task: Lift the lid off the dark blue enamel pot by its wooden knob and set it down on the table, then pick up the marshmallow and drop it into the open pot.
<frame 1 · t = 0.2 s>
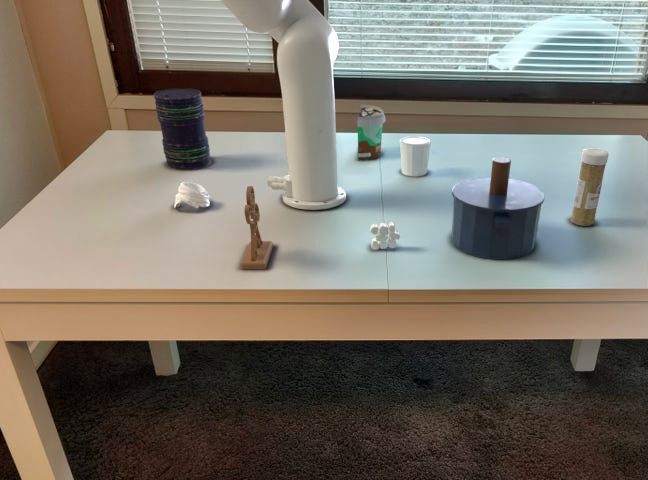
sprinkles bottle: (581, 223, 123), on the table
white cup: (414, 173, 144), on the table
whipped cream: (193, 206, 125), on the table
pot: (492, 241, 114), on the table
marshmallow: (384, 249, 111), on the table
storage jar: (189, 163, 146), on the table
pot lid: (497, 195, 110), point 8 cm above the table, touching pot
food container: (372, 155, 154), on the table
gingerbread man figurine: (257, 258, 107), on the table
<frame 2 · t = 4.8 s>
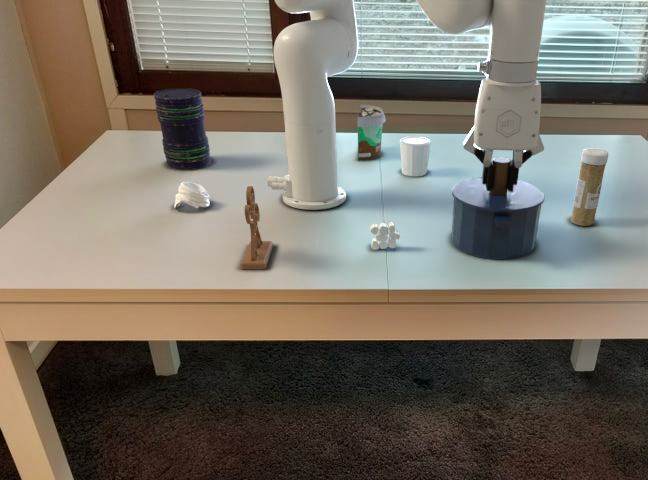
hand: (498, 187, 109), 10 cm above the table, tool pointing down, fingers closed on pot lid, 3 cm apart
pot lid: (497, 195, 110), point 9 cm above the table, touching gripper, pot
everything else where it was.
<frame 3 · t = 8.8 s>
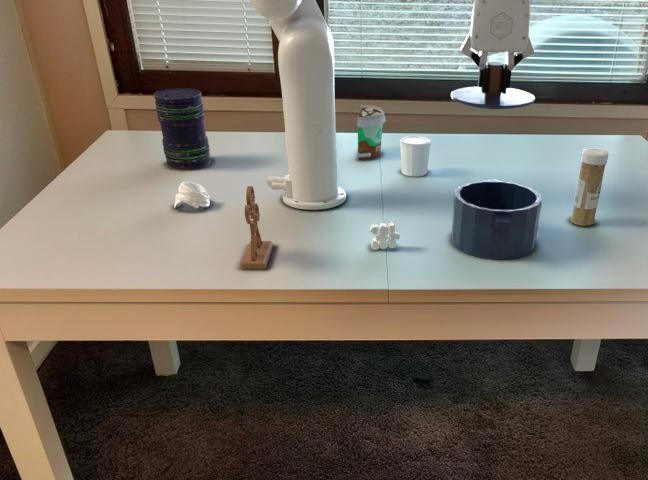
hand: (493, 90, 120), 21 cm above the table, tool pointing down, fingers closed on pot lid, 3 cm apart
pot lid: (492, 98, 121), point 19 cm above the table, touching gripper
everything else where it was.
when the fingers open (2 cm above the table, at t = 13.0 s): pot lid stays where it is, point 1 cm above the table.
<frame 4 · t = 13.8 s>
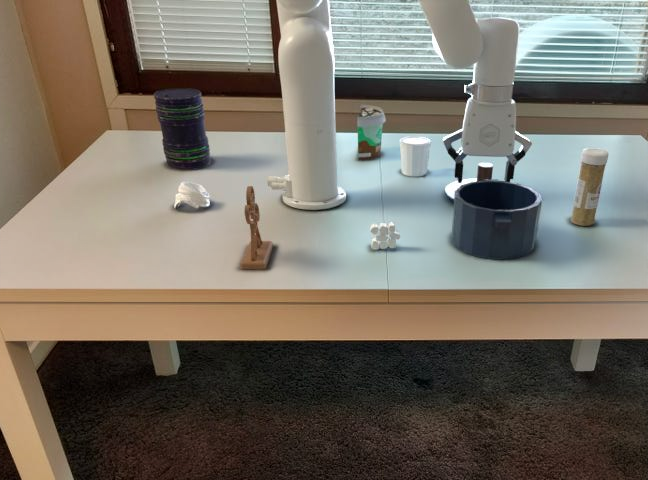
hand: (483, 181, 131), 3 cm above the table, tool pointing down, fingers open, 9 cm apart
pot lid: (482, 193, 132), point 1 cm above the table
everything else where it was.
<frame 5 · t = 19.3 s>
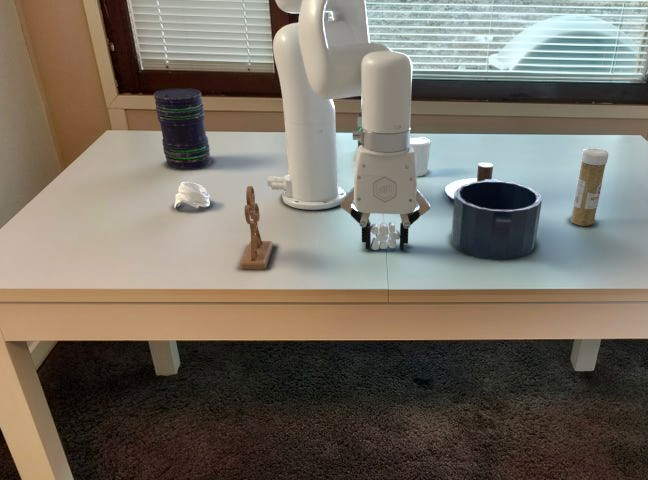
hand: (385, 245, 111), 0 cm above the table, tool pointing down, fingers closed on marshmallow, 5 cm apart
marshmallow: (384, 249, 111), on the table, touching gripper
everything else where it was.
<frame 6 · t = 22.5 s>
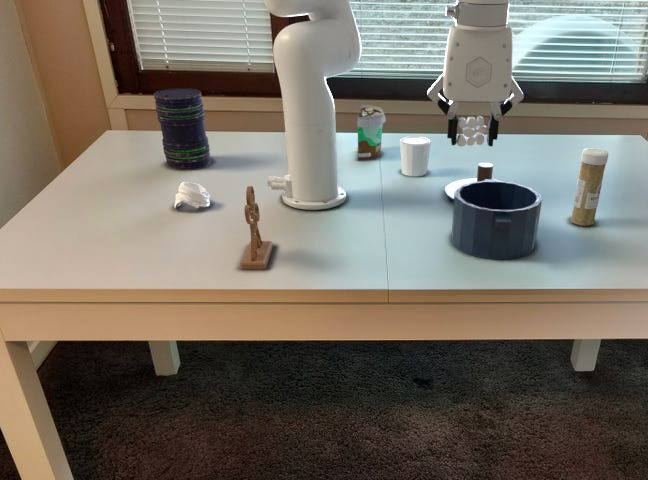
hand: (471, 142, 103), 18 cm above the table, tool pointing down, fingers closed on marshmallow, 5 cm apart
marshmallow: (471, 146, 104), point 17 cm above the table, touching gripper
everything else where it was.
when the fingers open (7 cm above the table, at t = 26.0 s): marshmallow drops 5 cm, resting on pot.
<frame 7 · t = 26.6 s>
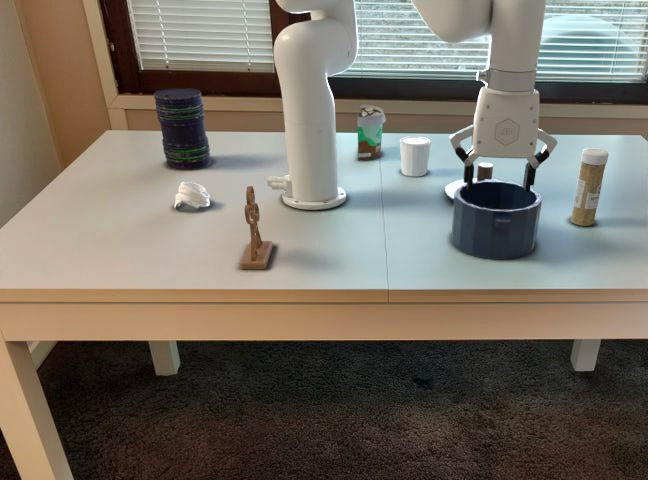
hand: (497, 188, 109), 10 cm above the table, tool pointing down, fingers open, 9 cm apart
marshmallow: (490, 233, 114), point 1 cm above the table, touching pot
everything else where it was.
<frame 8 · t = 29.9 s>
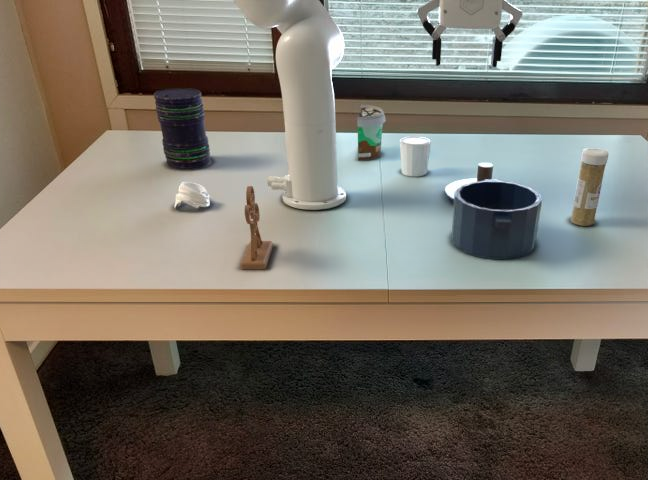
hand: (465, 65, 111), 26 cm above the table, tool pointing down, fingers open, 9 cm apart
nothing on the table moved.
at the end: pot lid inside the target area (0.1 cm from its centre), point 0.6 cm above the table; marshmallow inside the target area in the pot (0.9 cm from its centre), point 1.2 cm above the pot's base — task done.
